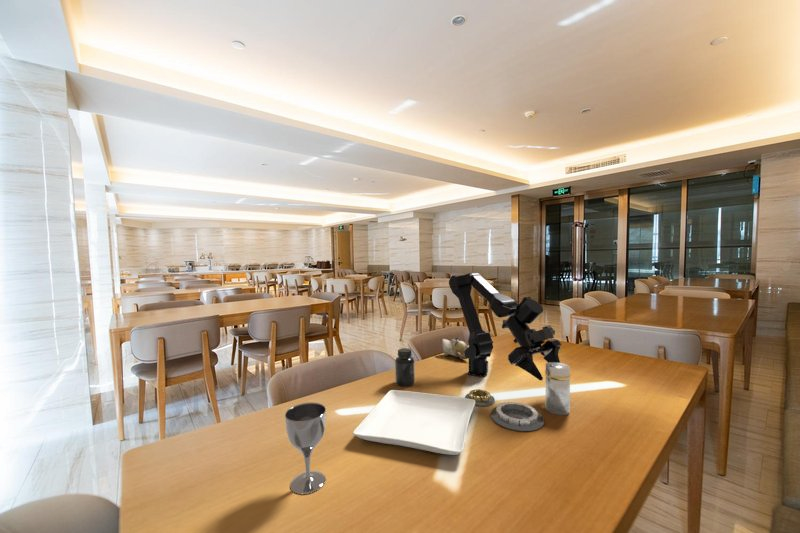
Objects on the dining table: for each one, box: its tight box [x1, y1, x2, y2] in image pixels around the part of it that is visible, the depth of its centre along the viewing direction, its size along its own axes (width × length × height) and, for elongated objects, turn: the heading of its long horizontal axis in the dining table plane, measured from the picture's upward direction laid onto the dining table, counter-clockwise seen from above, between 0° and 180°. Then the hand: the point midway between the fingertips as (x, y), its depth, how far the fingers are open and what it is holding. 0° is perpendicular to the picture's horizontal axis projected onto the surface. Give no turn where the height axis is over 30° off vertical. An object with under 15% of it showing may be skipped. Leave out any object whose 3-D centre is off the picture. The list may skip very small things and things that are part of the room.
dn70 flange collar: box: [490, 401, 545, 433], centre depth 93 cm, size 14×14×2 cm
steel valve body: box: [544, 362, 572, 416], centre depth 97 cm, size 7×7×13 cm
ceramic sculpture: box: [441, 337, 469, 360], centre depth 147 cm, size 11×9×15 cm
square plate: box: [352, 389, 476, 456], centre depth 90 cm, size 27×27×4 cm
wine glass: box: [284, 402, 327, 495], centre depth 69 cm, size 8×8×15 cm
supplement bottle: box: [394, 347, 416, 388], centre depth 119 cm, size 7×7×12 cm
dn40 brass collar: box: [464, 388, 495, 407], centre depth 105 cm, size 9×9×2 cm
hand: (552, 376), depth 99 cm, fingers open, 9 cm apart
